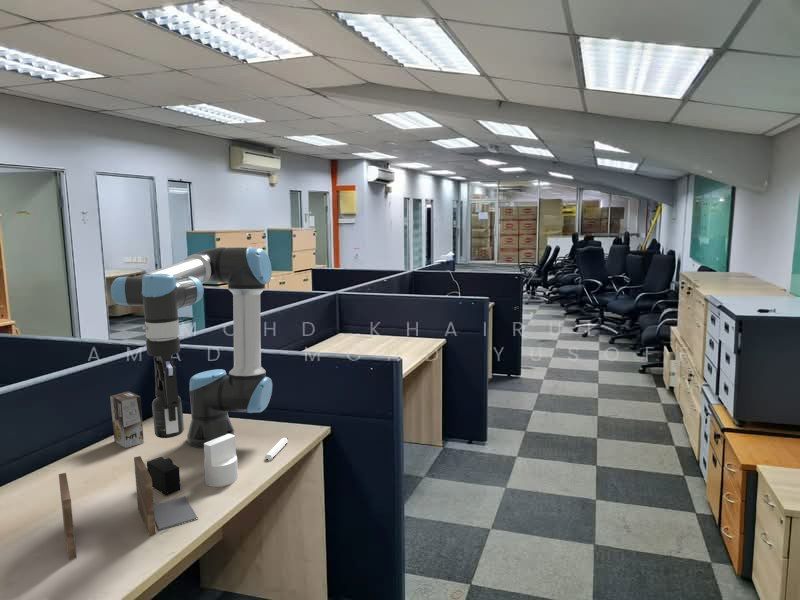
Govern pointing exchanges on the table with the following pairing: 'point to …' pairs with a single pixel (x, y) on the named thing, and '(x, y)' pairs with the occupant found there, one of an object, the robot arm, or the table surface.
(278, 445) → the marker
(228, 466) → the base with upright slab
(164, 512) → the zone mat
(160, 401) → the supplement bottle
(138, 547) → the table surface
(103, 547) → the table surface
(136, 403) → the coffee box
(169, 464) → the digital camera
